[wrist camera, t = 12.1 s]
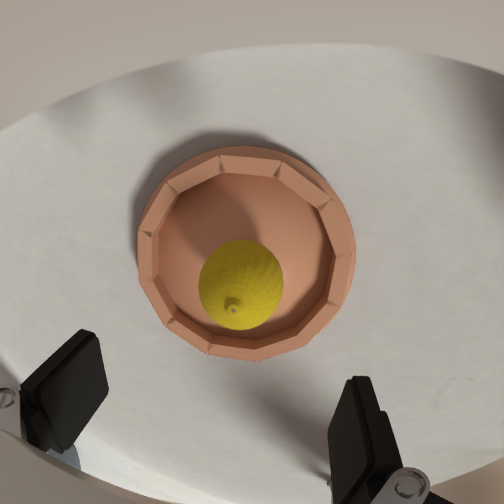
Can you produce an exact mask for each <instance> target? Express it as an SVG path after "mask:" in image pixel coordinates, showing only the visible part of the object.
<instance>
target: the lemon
mask: <svg viewBox="0 0 504 504" xmlns="http://www.w3.org/2000/svg"><path fill="white" fill-rule="evenodd" d="M283 287H284V280H283V272H282V269H281V266H280V264H279V261H278V260H277V258H276V257H275V256H274V254H273V253H272V252H271V251H270V250H269V249H267V248H266V247H265V246H264V245H262V244H259V243H257V242H255V241H250V240H245V239H244V240H233V241H230V242H227V243H224V244H223V245H221V246H220V247H218V248H216V249H215V250H214V251H213V252H212V253H211V254H210V255H209V257H208V258H207V259H206V261H205V263H204V265H203V267H202V269H201V272H200V277H199V282H198V289H199V298H200V301H201V303H202V306H203V308H204V310H205V311H206V313H207V314H208V316H209V317H210V318H211V319H213V320H214V321H215V322H216V323H218V324H220V325H221V326H223V327H226V328H229V329H234V330H245V329H251V328H254V327H256V326H259V325H260V324H262V323H263V322H265V321H266V320H268V318H269V317H270V316H271V315H272V314H273V313H274V311H275V310H276V309H277V306H278V304H279V302H280V300H281V298H282V293H283Z"/></svg>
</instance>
